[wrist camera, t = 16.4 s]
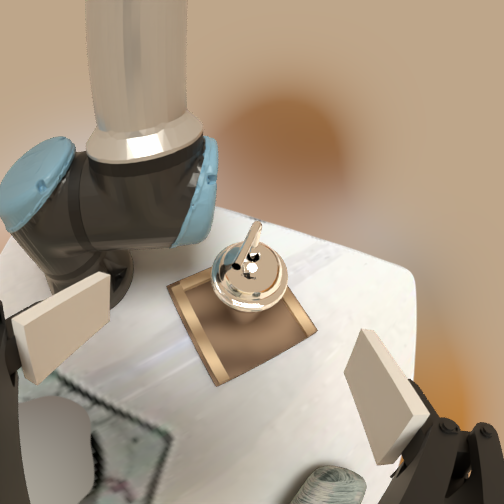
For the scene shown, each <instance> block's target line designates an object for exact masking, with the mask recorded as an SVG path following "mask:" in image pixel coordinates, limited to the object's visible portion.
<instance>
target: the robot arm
mask: <svg viewBox="0 0 504 504" xmlns="http://www.w3.org/2000/svg"><path fill="white" fill-rule="evenodd" d="M85 3H86V4H85V10H86V11H85V12H86V41H87V55H88V66H89V75H90V83H91V91H92V98H93V105H94V111H95V117H96V123H97V126H96V129H95V130H94V132H93V133H92V135H91V136H90V138H89V140H88V141H87V143H86V151H84V152H76V147H75V145H74V144H73V143H72V142H71V140H70V139H68V138H66V137H63V136H60V137H53V138H50V139H48V140H45V141H43V142H41V143H39V144H38V145H36V146H35V147H33V148H32V149H30V150H29V151H28V152H26V153H25V154H24V155H23V156H22V157H21V158H19V159H18V161H16V162H15V164H14V165H13V166H12V167H11V168H10V170H9V171H8V172H7V174H6V175H5V177H4V178H3V180H2V182H1V184H0V217H1V219H2V221H3V222H4V224H5V226H6V230H7V231H8V232H10V233H11V235H12V236H13V237H14V238H15V240H16V241H17V242H18V243H19V245H20V246H21V247H22V248H23V249H24V251H25V252H26V253H27V254H28V255H29V256H30V258H31V259H32V260H33V261H34V262H35V263H36V264H37V266H38V267H39V268H40V269H41V270H42V271H43V272H44V274H45V277H46V279H47V282H48V285H49V288H50V291H51V293H52V295H53V296H51V297H49V298H47V299H46V300H43V301H39V302H36V303H34V304H32V305H30V306H29V307H27V308H25V309H23V310H21V311H20V312H18V313H16V314H14V315H12V316H11V317H9V318H7V319H6V320H5V317H4V311H3V305H2V302H1V300H0V504H30V500H29V495H28V491H27V486H26V481H25V475H24V469H23V463H22V456H21V446H20V436H19V420H18V379H19V377H18V373H17V370H18V369H19V368H20V367H22V369H23V373H24V376H25V378H26V379H28V380H29V381H31V382H32V383H34V384H36V385H37V386H38V385H39V384H40V383H41V382H42V381H43V380H44V379H45V378H46V377H47V376H48V375H49V374H51V373H52V372H53V371H54V370H55V369H56V368H57V367H58V366H59V365H60V364H62V363H63V362H64V361H65V360H66V359H67V358H68V357H69V356H70V355H71V354H73V353H74V352H75V351H76V350H77V349H78V348H79V347H80V346H82V345H83V344H84V343H85V342H86V341H87V340H88V339H90V338H91V337H92V336H93V335H94V334H95V333H96V332H98V331H99V330H100V329H101V328H102V327H103V326H104V325H106V324H107V323H108V322H109V321H110V309H112V308H113V307H114V306H115V305H116V304H118V303H119V301H120V300H121V299H122V298H123V297H124V295H125V294H126V292H127V290H128V288H129V286H130V284H131V281H132V277H133V260H132V256H131V254H130V252H129V250H133V249H152V248H175V247H176V246H182V245H190V244H197V243H199V242H201V241H203V240H204V239H205V238H206V237H207V236H208V234H209V232H210V230H211V226H212V222H213V216H214V210H215V201H216V190H217V184H216V180H217V172H218V146H217V142H216V140H215V139H214V138H209V137H208V136H203V124H202V122H201V120H200V119H199V118H198V117H196V116H195V115H194V114H192V113H191V112H190V111H189V110H187V102H186V31H187V30H186V29H187V4H188V0H86V2H85ZM344 375H345V377H346V380H347V382H348V385H349V388H350V390H351V393H352V396H353V399H354V401H355V404H356V407H357V409H358V412H359V415H360V418H361V421H362V423H363V426H364V429H365V432H366V435H367V438H368V441H369V444H370V446H371V449H372V452H373V455H374V458H375V461H376V464H377V465H386V464H393V463H394V462H395V461H396V460H397V459H398V457H399V456H400V455H401V454H402V457H403V459H404V462H403V463H402V464H401V465H400V466H399V467H398V468H397V470H396V471H395V472H394V473H393V474H392V475H391V476H390V477H391V478H392V477H393V476H394V477H393V479H392V481H391V483H390V484H389V486H388V488H387V490H386V491H385V493H384V495H383V496H382V498H381V499H380V501H379V503H378V504H504V458H503V454H502V449H501V445H500V441H499V438H498V434H497V432H496V430H495V429H494V428H493V426H492V425H490V424H487V423H484V422H480V423H477V424H476V426H475V427H474V428H473V430H472V431H471V432H468V431H460V428H459V426H458V425H457V424H456V423H455V422H454V421H452V420H450V419H448V418H440V417H439V416H438V414H437V413H436V411H435V410H434V408H433V407H432V405H431V404H430V402H429V401H428V400H427V398H426V396H425V395H424V394H423V392H422V390H421V389H420V387H419V386H418V385H417V384H415V382H413V381H412V380H411V379H407V378H406V376H405V375H404V373H403V372H402V370H401V369H400V367H399V366H398V364H397V363H396V361H395V360H394V358H393V357H392V355H391V354H390V353H389V351H388V350H387V348H386V347H385V345H384V344H383V343H382V341H381V340H380V338H379V337H378V335H377V334H376V333H375V331H374V330H367V329H361V330H360V333H359V336H358V338H357V341H356V343H355V346H354V349H353V351H352V354H351V356H350V359H349V361H348V363H347V366H346V368H345V370H344ZM470 470H471V474H470V477H468V473H469V472H470Z"/></svg>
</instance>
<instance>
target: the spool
mask: <svg viewBox="0 0 504 504" xmlns="http://www.w3.org/2000/svg"><path fill="white" fill-rule="evenodd" d="M366 488H367V486H366V482H365V480H364V479H363V477H361V476H360V475H358V474H357V473H355V472H353V471H351V470H348V469H345V468H342V467H336V466H324V467H320V468H318V469H316V470H315V471H314V472H313V473H312V474H311V475H310V476H309V477H308V478H307V480H306V481H305V483H304V484H303V485H302V487H301V488H300V490H299V491H298V493H297V494H296V495H295V497H294V498H293V500H292V501H291V503H290V504H361V502H362V500H363V497H364V494H365V491H366Z"/></svg>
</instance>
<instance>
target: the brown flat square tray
mask: <svg viewBox="0 0 504 504" xmlns="http://www.w3.org/2000/svg"><path fill="white" fill-rule="evenodd" d="M211 269H212V267H210V268H208V269H205V270H203V271H201V272H198V273H196V274H194V275H191V276H189V277H187V278H184V279H182V280H179V281H177V282H175V283H172V284H170V285H168V286H167V289H168V291H169V294H170V296H171V298H172V300H173V302H174V305H175V307H176V309H177V311H178V313H179V315H180V318H181V320H182V322H183V324H184V326H185V328H186V330H187V332H188V334H189V336H190V338H191V340H192V342H193V344H194V346H195V348H196V350H197V352H198V354H199V356H200V358H201V360H202V362H203V363H204V365H205V367H206V369H207V371H208V373H209V375H210V377H211V378H212V380H213V382H214V384H215V386H216V387H217V386H219V385H222V384H224V383H226V382H228V381H230V380H232V379H234V378H236V377H238V376H240V375H242V374H244V373H246V372H247V371H249V370H251V369H253V368H255V367H257V366H259V365H261V364H263V363H264V362H266V361H268V360H270V359H272V358H274V357H275V356H277V355H279V354H281V353H282V352H284V351H286V350H288V349H289V348H291V347H293V346H295V345H296V344H298V343H300V342H301V341H303V340H305V339H306V338H308V337H310V336H311V335H313V334H315V333H316V332H317V331H318V330H317V328H316V327H315V325H314V324H313V322H312V321H311V319H310V318H309V317H308V315H307V314H306V312H305V311H304V309H303V308H302V306H301V305H300V303H299V302H298V300H297V299H296V297H295V296H294V294H293V293H292V291H291V290H290V288H289V287H288V285H287V288H286V291H285V293H284V295H283V297H282V298H281V299H280V300H279V301H278V302H277V303H276V304H275V305H273V306H272V307H270V308H268V309H265V310H262V311H261V313H260V314H259V316H258V317H257V318H256V319H255V320H254V321H253V322H251V323H249V324H238V323H236V322H234V321H233V320H231V319H230V317H229V316H228V313H227V309H226V305H225V303H224V302H223V301H222V300H221V299H219V297H218V296H217V295H216V293H215V291H214V289H213V287H212V284H211Z"/></svg>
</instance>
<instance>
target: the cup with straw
mask: <svg viewBox="0 0 504 504" xmlns="http://www.w3.org/2000/svg"><path fill="white" fill-rule="evenodd" d="M261 230H262V224H261V223H260V222H259V221H255V222H254V223H253V224H252V226H251V228H250V230H249V232H248V234H247V236H246V238H245V240H244V241H241V242H238V243H235V244H232V245H230V246H228V247H226V248H225V249H223V250H222V251H221V252H220V253H219V254H218V256H217V257H216V259H215V261H214V263H213V265H212V269H211V284H212V287H213V289H214V291H215V293H216V295H217V296H218V297H219V299H221V300H222V301H223V302H224V303H225V305H226V309H227V313H228V316H229V317H230V319H231V320H233V321H234V322H236V323H238V324H249V323H251V322H253V321H254V320H255V319H256V318H257V317H258V316H259V314H260V313H261V311H262V310H265V309H268V308H270V307H272V306H273V305H275V304H276V303H277V302H278V301H279V300H280V299H281V298H282V297H283V295H284V293H285V291H286V288H287V284H288V273H287V268H286V265H285V263H284V261H283V259H282V258H281V257H280V255H279V254H278V253H277V252H276V251H274V250H273V249H272V248H271V247H269V246H268V245H266V244H264V243H262V242H259V239H260V234H261Z"/></svg>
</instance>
